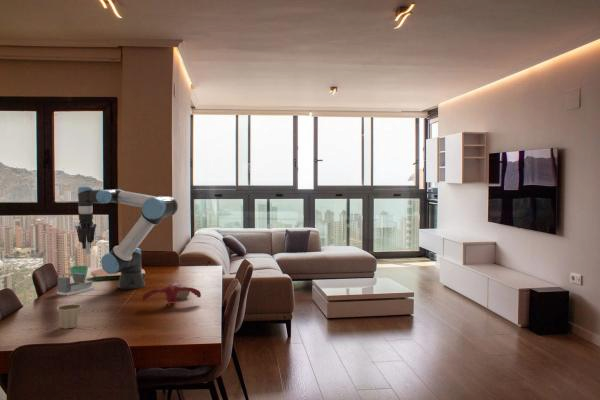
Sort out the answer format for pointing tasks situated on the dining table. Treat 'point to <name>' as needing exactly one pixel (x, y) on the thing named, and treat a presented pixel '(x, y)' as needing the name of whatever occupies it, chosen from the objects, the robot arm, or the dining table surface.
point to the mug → (79, 270)
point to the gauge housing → (67, 290)
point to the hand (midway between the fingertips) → (86, 254)
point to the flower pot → (69, 315)
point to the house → (102, 273)
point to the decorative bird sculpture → (171, 293)
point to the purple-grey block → (78, 279)
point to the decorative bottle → (180, 294)
